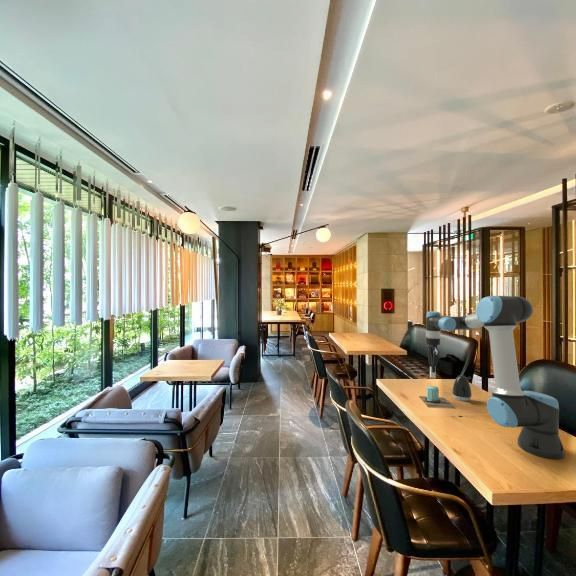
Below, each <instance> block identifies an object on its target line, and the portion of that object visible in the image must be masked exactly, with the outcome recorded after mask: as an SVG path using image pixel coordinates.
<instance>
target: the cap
mask: <svg viewBox="0 0 576 576" xmlns="http://www.w3.org/2000/svg"><path fill="white" fill-rule="evenodd" d="M439 393H440V389H439V387H438V386H435V385H427V386H426V397H427V399H428V400H431V401H438V400H439V396H440V394H439Z"/></svg>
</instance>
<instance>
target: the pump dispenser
mask: <svg viewBox="0 0 576 576" xmlns="http://www.w3.org/2000/svg"><path fill="white" fill-rule="evenodd" d="M471 379H472V377H471V376H467V377H466V376H465V375H459V374H458V375H457V377H456V378H455V380H454V382H453V386H452V391H451V392H452V396H453V398H454V399H455V400H457V401H460V402H469V401H470V400H471V398H472V387H471V385H470V381H469V380H471Z"/></svg>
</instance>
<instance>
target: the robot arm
mask: <svg viewBox="0 0 576 576" xmlns="http://www.w3.org/2000/svg"><path fill="white" fill-rule="evenodd" d="M533 314H534V307H533V305H532V303H531V301H529V300H528V299H527V298H525V297H523V296H522V297H521V296H518V295H513V296H511V295H489V296H485V297H483V298H481V299H480V300H479V302H478V303H477V305H476V309H475V313H471V314H468V315H464V316H445V315H444V316H443V315H441V312H440V311H427V312H426V314H425V315H426V317H425V322H426V323H425V324H426V325H425V327H426V328H425V332H426V333H425V343H426V345H428V347H427V348H426V349H427V359H428V364H429V378H433V379H436V375H437V374H436V372H437V371H436V368H437V367H438V362H439V356H440V355H439V354H440V351H438V346H439V345H441V334H442V332H441V330H442V331H445V332H447V331H448V332H452V331H459V330H462V331H463V330H464V331H471V330H473V331H474V330H476V329H477V328H481V327H483V328H485V330H487V331H488V336H489V344H490V351H491V362H492V368H493V369H492V370H493V379H494V386H495V387H494V389H492V390H491V394H492V395H491V396H492V397H491V396H490V397H489V398H488V400H487V401H486V408H487V409H486V410H487V413H488V415H489V416H490V418H491V419H492V420H493V421H494V423H496V424H497V425H499V426H500V427H503V428H512V429H514V428H521V427H522V428H521V430H520V433H519V435H518V437H517V445H518V447H520V448H521V449H522V450H523V451H525V452H527V453H529V454H532V455H535V456H538V457H542V458H545V459H552V460H553V459H554V460H559V459H560V460H561V459H563V458H564V457H565V449H564V445H563V443H562V441H561V438H560V435H559V433H560V432H559V426H560V425H559V424H560V420H559V419H560V408H559V401H558V399H557V398H555V397H553V396H551V395H548V394H545V393H541V392H537V391H532V390H522V389H521V384H520V376H519V374H520V373H519V369H518V368H519V366H518V361H517V353H516V345H515V339H514V330H515V329H516V328H517V323H523V322H525V321H528V320H529V319H530V318H531V317H532V315H533Z"/></svg>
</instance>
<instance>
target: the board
mask: <svg viewBox="0 0 576 576" xmlns="http://www.w3.org/2000/svg"><path fill="white" fill-rule="evenodd" d="M418 397H419V399H420V400H421V401H422V402H423V403H424V404H425V405H426V407H427V408H431V409H432V408H433V409H451V410H452V409H453V410H457V408H456V407H455V406H454V405H453V404H452V403H451V402H450V401H449V400H447V399H446V398H445V397H443V396H441V397H439V399H440V403H430V402H427V401H426V400H425V398H426V397H427V396H426V395H425V396H424V395H423V396H421V395H420V396H418Z"/></svg>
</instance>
